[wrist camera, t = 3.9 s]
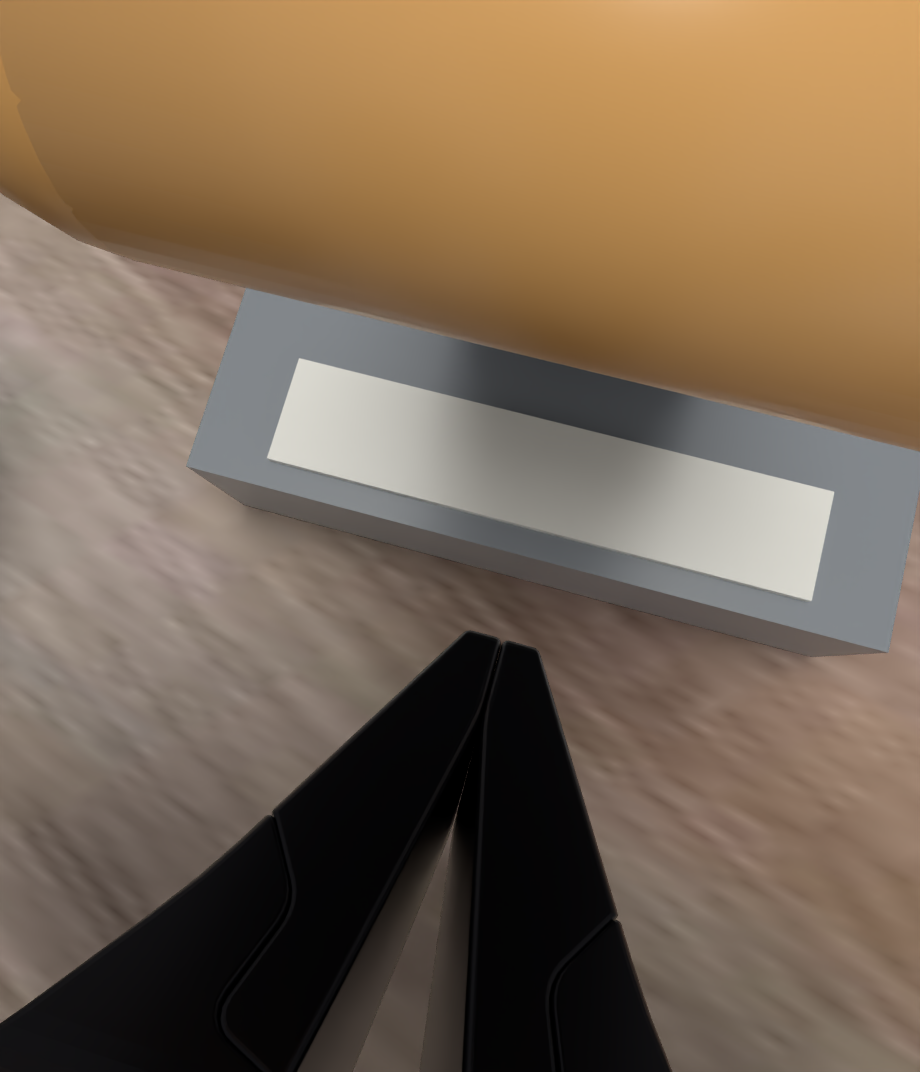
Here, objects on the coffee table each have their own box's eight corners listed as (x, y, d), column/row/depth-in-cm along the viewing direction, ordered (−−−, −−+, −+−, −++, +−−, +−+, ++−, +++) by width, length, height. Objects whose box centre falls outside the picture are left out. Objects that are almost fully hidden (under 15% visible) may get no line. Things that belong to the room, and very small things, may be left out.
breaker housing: (811, 656, 17) (894, 652, 14) (243, 504, 19) (182, 463, 15) (889, 278, 19) (983, 183, 15) (355, 158, 20) (324, 42, 16)
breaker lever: (773, 342, 15) (1643, 671, 3) (417, 258, 16) (-340, 180, 3) (822, 196, 14) (2525, -429, 2) (444, 113, 15) (-438, -804, 2)
